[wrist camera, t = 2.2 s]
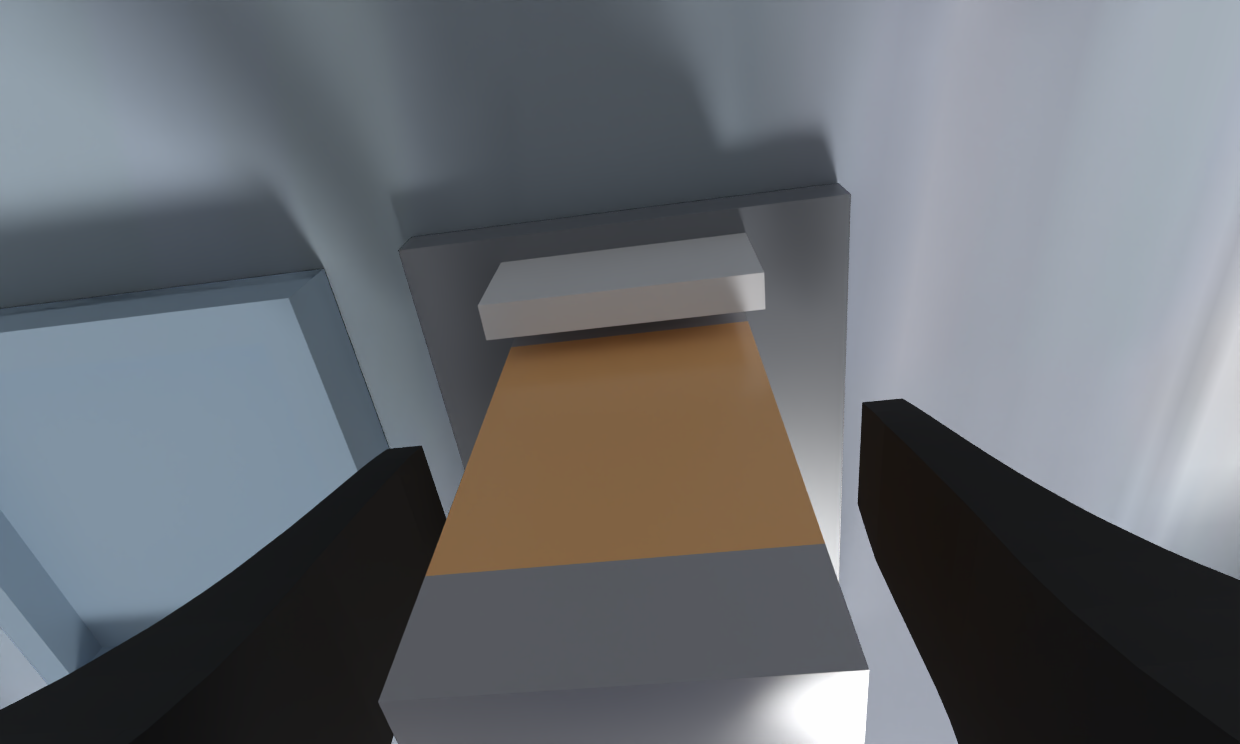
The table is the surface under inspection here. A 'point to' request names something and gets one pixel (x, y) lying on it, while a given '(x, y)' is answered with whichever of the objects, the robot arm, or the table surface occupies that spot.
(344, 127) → the table surface
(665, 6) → the table surface
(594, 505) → the block
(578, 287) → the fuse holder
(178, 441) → the tray
